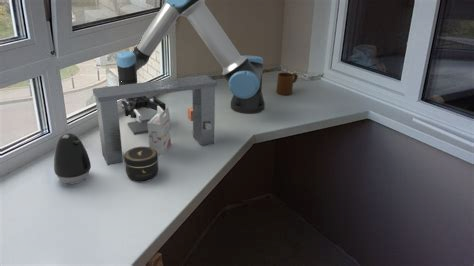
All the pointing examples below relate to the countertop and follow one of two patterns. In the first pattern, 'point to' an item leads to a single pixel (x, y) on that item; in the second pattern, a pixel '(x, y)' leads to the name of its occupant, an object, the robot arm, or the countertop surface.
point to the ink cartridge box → (160, 132)
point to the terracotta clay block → (190, 117)
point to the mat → (139, 126)
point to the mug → (285, 83)
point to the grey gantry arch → (109, 95)
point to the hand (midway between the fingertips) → (152, 117)
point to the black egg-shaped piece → (71, 159)
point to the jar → (141, 163)
